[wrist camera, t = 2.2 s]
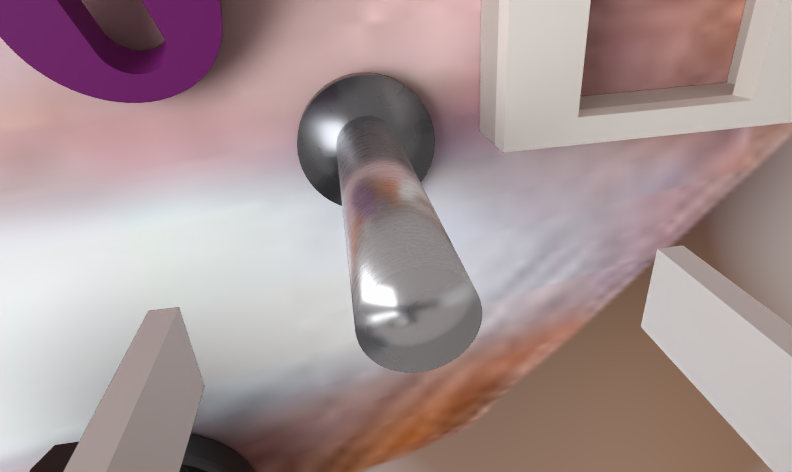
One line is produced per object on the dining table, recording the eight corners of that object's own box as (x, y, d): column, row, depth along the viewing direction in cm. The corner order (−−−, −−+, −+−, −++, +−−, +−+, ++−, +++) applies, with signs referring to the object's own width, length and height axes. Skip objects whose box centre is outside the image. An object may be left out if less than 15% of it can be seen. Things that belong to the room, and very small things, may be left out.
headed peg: (433, 195, 32) (545, 405, 16) (308, 209, 31) (297, 444, 15) (429, 66, 28) (570, 172, 12) (287, 79, 28) (245, 208, 12)
